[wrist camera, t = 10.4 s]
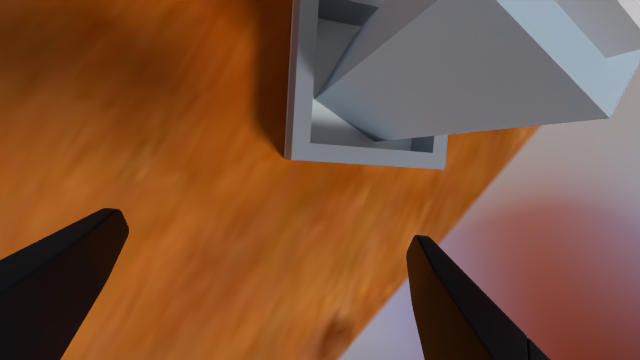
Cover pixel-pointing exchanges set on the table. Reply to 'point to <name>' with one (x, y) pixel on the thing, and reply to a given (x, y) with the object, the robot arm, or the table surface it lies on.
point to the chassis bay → (311, 74)
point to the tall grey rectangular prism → (483, 65)
